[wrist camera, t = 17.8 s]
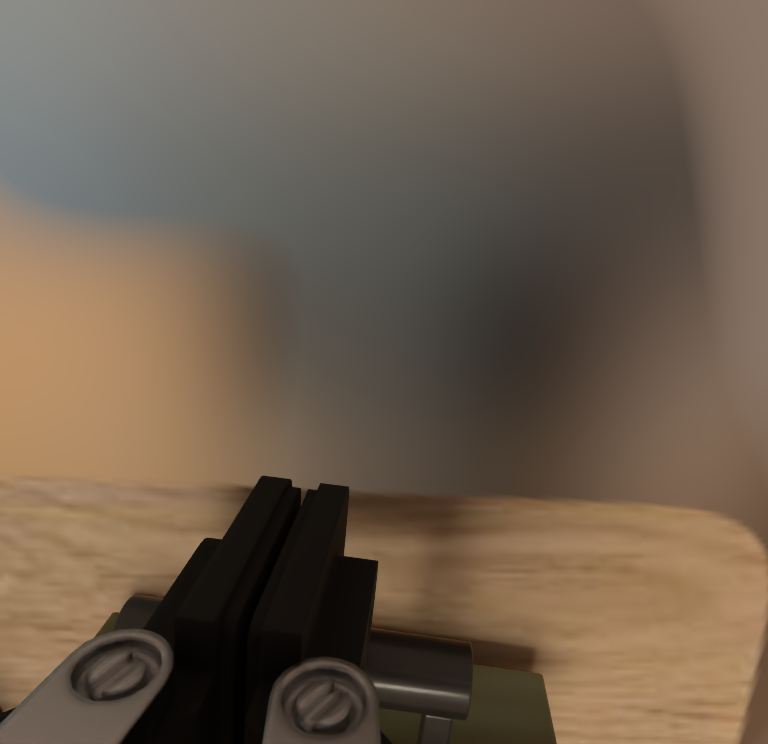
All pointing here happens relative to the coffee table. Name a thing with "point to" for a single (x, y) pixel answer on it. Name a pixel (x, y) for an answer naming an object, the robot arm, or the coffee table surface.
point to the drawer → (428, 688)
